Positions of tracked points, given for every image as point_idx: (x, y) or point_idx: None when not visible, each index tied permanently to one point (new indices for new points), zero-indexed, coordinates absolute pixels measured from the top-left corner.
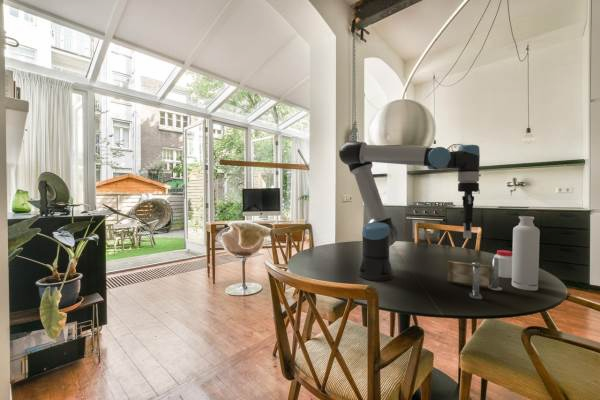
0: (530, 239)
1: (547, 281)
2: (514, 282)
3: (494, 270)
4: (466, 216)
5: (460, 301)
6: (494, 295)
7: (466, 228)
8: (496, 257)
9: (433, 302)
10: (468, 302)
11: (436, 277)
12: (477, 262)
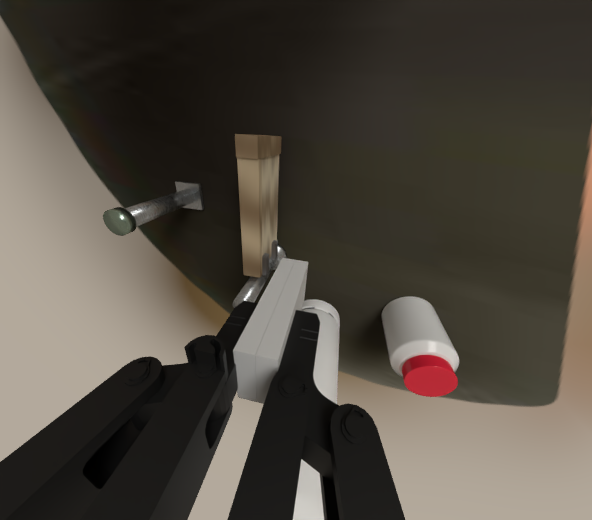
0: None
1: (373, 371)
2: (309, 307)
3: (249, 278)
4: (47, 437)
5: (137, 150)
6: (224, 239)
7: (232, 315)
8: (415, 340)
9: (81, 70)
10: (143, 169)
11: (326, 95)
12: (126, 229)
